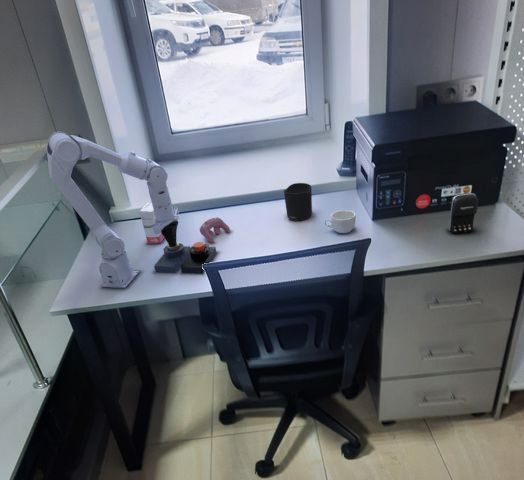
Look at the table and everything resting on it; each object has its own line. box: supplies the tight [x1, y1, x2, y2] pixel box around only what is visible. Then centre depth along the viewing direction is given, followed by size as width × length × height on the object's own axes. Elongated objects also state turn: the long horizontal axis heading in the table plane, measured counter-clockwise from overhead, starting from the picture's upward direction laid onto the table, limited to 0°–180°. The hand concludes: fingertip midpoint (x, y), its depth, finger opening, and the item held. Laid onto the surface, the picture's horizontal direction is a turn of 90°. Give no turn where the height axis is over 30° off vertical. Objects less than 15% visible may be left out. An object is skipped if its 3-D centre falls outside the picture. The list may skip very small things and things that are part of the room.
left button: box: [166, 241, 179, 251], centre depth 159 cm, size 4×4×2 cm
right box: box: [179, 243, 218, 275], centre depth 157 cm, size 13×7×4 cm, turn 164°
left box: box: [153, 242, 191, 274], centre depth 159 cm, size 13×7×4 cm, turn 164°
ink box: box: [139, 201, 165, 245], centre depth 172 cm, size 9×5×12 cm, turn 168°
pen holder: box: [283, 182, 313, 222], centre depth 172 cm, size 9×9×10 cm
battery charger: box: [448, 192, 479, 234], centre depth 149 cm, size 7×4×11 cm, turn 90°
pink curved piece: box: [199, 216, 231, 243], centre depth 170 cm, size 10×5×7 cm, turn 141°
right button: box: [192, 241, 205, 252], centre depth 157 cm, size 4×4×2 cm
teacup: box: [323, 209, 357, 234], centre depth 161 cm, size 10×8×5 cm
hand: (172, 244), depth 159 cm, fingers closed, pressing on left button
